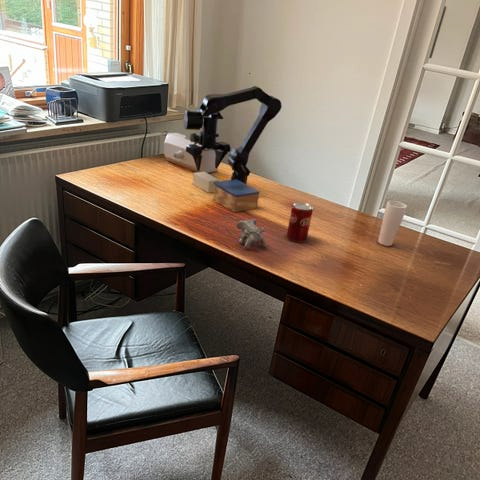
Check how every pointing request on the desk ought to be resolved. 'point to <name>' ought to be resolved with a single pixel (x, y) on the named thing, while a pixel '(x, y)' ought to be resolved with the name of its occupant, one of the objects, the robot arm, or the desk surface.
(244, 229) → the gray elephant figurine
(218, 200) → the storage box
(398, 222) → the drinking glass
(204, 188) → the case
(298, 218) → the soda can
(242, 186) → the blue lid
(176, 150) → the tank
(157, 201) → the desk surface
